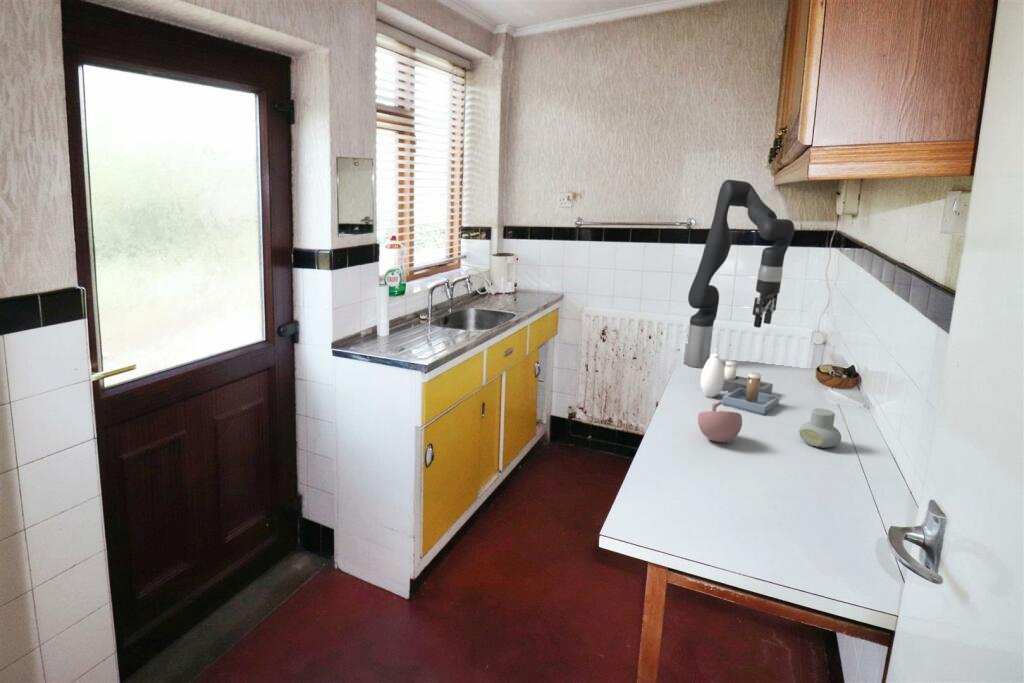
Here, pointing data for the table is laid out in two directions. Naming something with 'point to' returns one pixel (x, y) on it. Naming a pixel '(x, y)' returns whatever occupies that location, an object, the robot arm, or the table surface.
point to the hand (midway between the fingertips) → (762, 325)
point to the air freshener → (820, 429)
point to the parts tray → (762, 406)
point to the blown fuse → (753, 387)
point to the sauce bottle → (712, 376)
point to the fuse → (730, 370)
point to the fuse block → (745, 385)
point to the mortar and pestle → (719, 424)
